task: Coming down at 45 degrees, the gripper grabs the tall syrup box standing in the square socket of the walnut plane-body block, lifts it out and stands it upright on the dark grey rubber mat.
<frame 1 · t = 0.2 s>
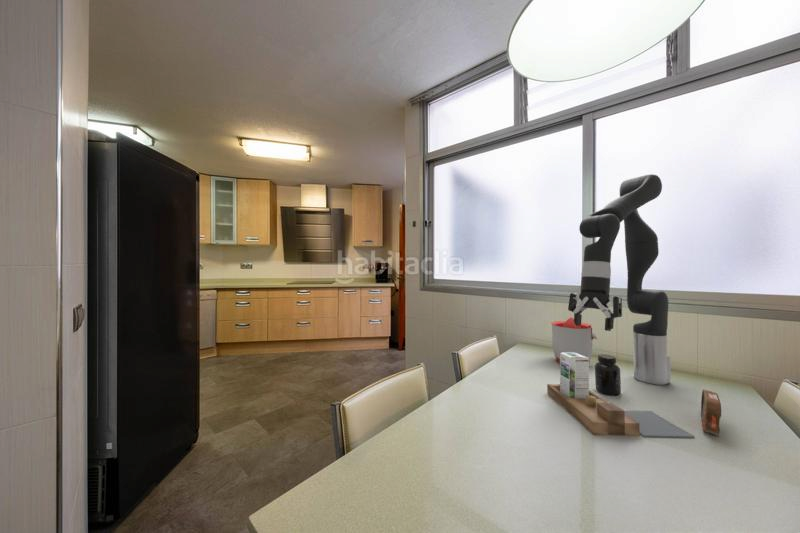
hand: (592, 328, 86), 23 cm above the table, tool pointing down, fingers open, 8 cm apart
citrus juicer: (574, 363, 120), on the table
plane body: (574, 401, 85), on the table
syrup box: (574, 402, 85), resting in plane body
supplement bottle: (607, 392, 92), on the table
tin: (710, 428, 71), on the table
mat: (647, 423, 73), on the table
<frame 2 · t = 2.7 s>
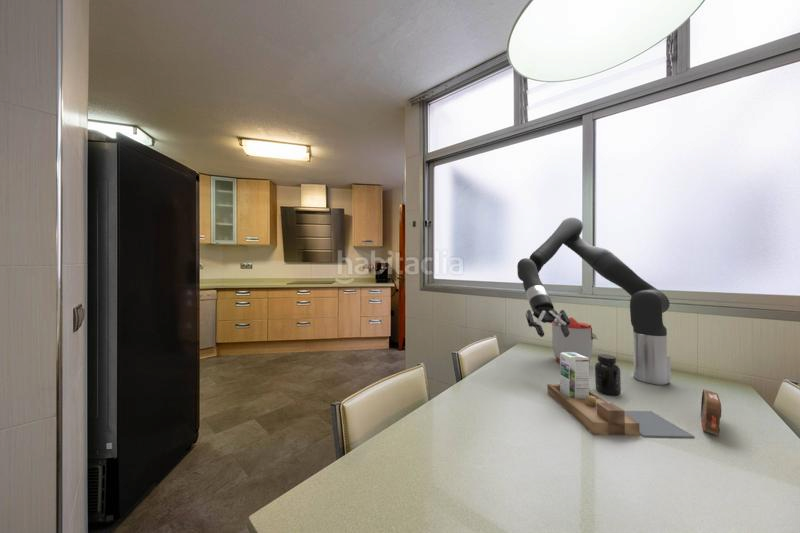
hand: (554, 335, 97), 18 cm above the table, tool tilted 45°, fingers open, 8 cm apart
nothing on the table moved.
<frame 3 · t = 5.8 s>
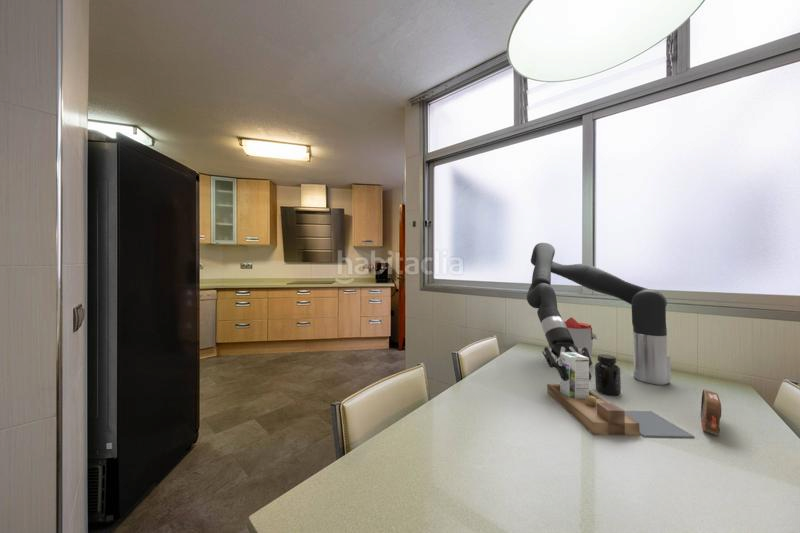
hand: (577, 379, 84), 7 cm above the table, tool tilted 45°, fingers closed on syrup box, 6 cm apart
syrup box: (574, 402, 85), resting in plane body, touching gripper
everything else where it was.
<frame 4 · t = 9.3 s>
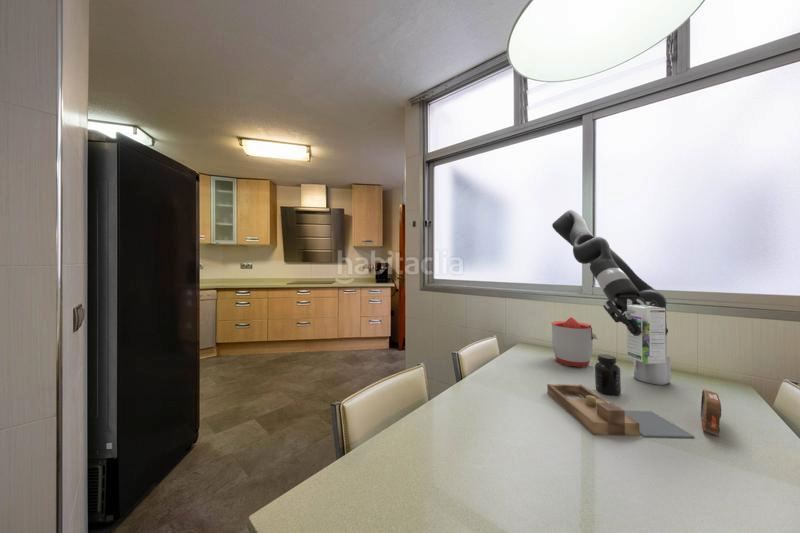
hand: (651, 334, 72), 24 cm above the table, tool tilted 45°, fingers closed on syrup box, 6 cm apart
syrup box: (645, 361, 73), point 16 cm above the table, touching gripper
everything else where it was.
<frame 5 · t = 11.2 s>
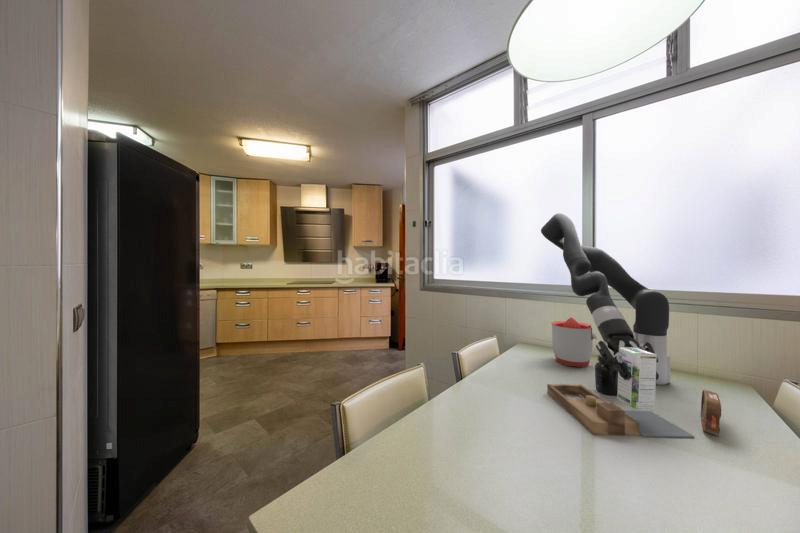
hand: (641, 379, 72), 12 cm above the table, tool tilted 45°, fingers closed on syrup box, 6 cm apart
syrup box: (635, 404, 74), point 5 cm above the table, touching gripper
everything else where it was.
when the fingers open (9 cm above the table, at t = 12.7 s): syrup box stays where it is, resting on mat.
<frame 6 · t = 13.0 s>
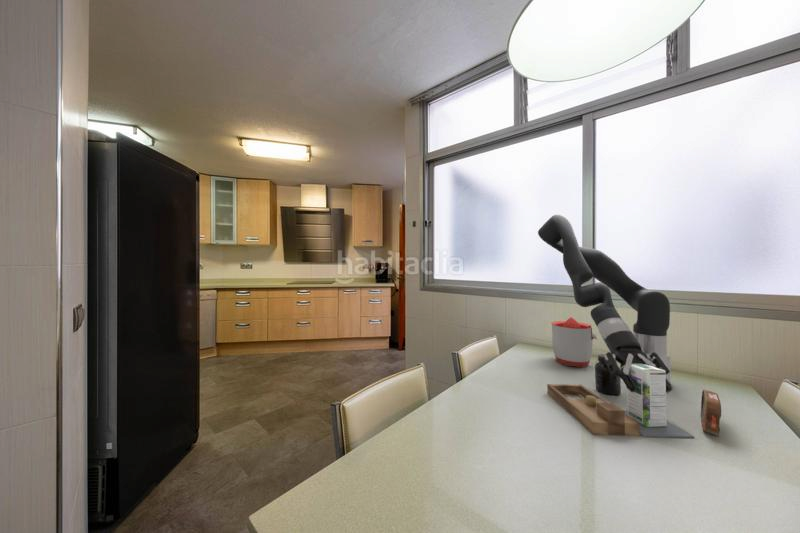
hand: (651, 391, 72), 9 cm above the table, tool tilted 45°, fingers open, 8 cm apart
syrup box: (646, 422, 73), resting on mat
everything else where it was.
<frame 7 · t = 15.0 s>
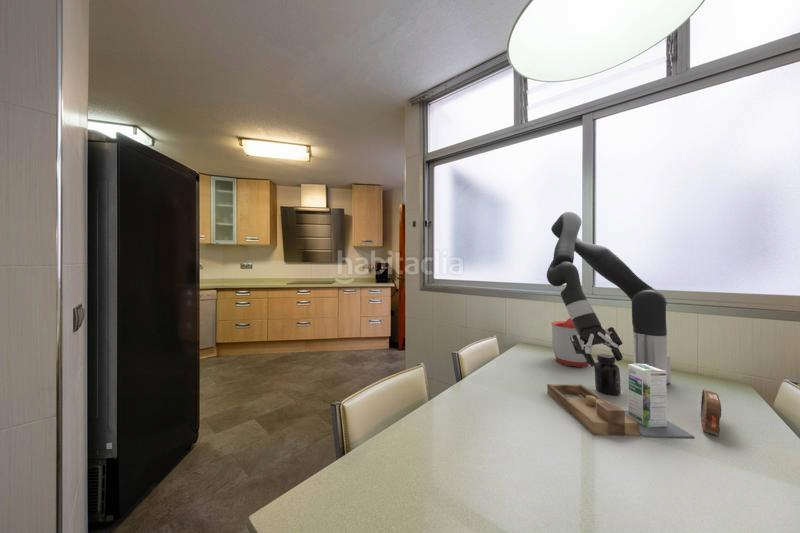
hand: (606, 363, 89), 11 cm above the table, tool tilted 30°, fingers open, 8 cm apart
supplement bottle: (607, 392, 92), on the table, touching gripper
everything else where it was.
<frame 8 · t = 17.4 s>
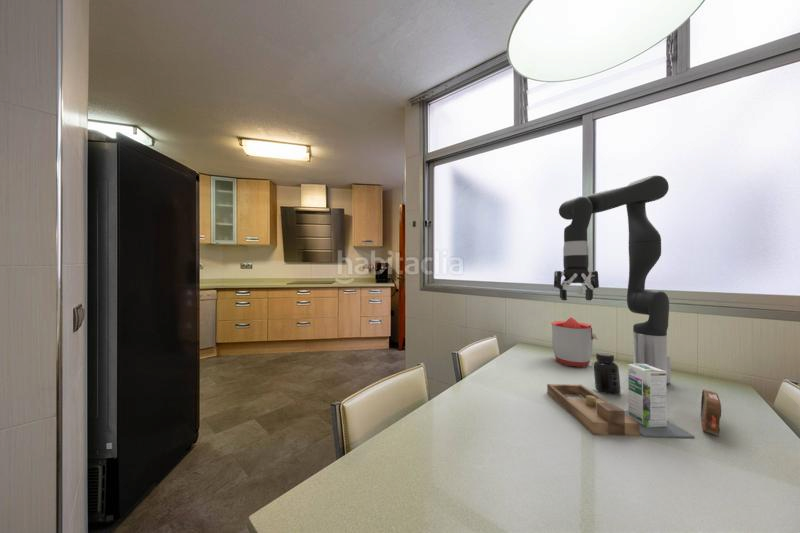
hand: (576, 300, 97), 30 cm above the table, tool pointing down, fingers open, 8 cm apart
supplement bottle: (607, 392, 92), on the table
everything else where it was.
at the end: syrup box 0.3 cm from the mat (horizontally); syrup box tilted 0°; syrup box resting on mat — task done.
